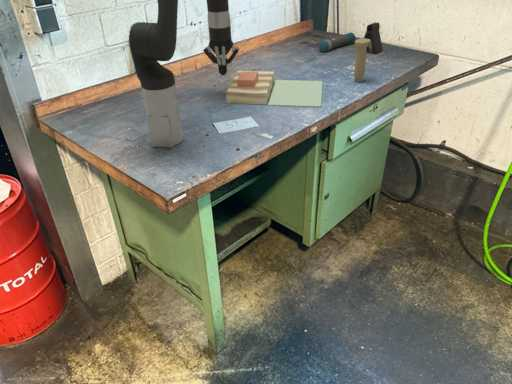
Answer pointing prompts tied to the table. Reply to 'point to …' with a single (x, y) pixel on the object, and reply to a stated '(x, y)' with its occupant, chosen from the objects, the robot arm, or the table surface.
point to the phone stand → (374, 38)
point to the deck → (251, 89)
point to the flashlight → (336, 42)
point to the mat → (296, 93)
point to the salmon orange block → (247, 79)
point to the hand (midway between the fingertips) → (223, 74)
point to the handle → (360, 58)
